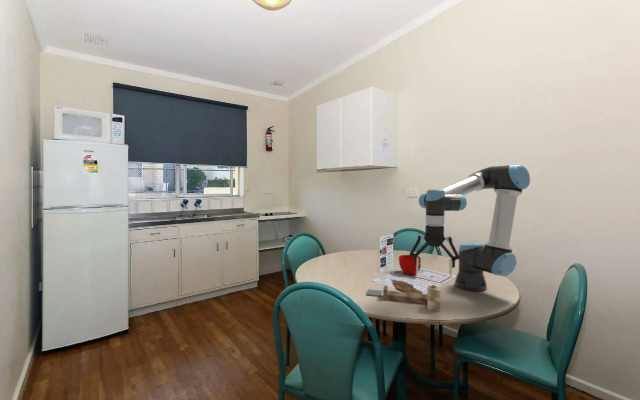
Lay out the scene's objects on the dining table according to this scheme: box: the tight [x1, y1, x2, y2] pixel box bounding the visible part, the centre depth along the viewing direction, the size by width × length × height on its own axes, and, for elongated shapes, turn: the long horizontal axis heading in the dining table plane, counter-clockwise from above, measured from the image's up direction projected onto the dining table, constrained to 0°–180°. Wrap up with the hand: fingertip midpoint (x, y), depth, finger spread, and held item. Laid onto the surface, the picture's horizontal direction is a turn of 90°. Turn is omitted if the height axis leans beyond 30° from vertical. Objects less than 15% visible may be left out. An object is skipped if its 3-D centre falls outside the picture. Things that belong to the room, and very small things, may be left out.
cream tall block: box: [426, 284, 442, 312], centre depth 127 cm, size 5×5×10 cm
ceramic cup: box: [398, 254, 422, 276], centre depth 176 cm, size 13×17×10 cm
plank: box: [382, 285, 427, 305], centre depth 136 cm, size 24×6×5 cm, turn 73°
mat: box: [365, 288, 383, 298], centre depth 144 cm, size 7×7×1 cm
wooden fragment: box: [391, 278, 423, 294], centre depth 154 cm, size 26×11×1 cm, turn 10°
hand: (433, 273), depth 126 cm, fingers open, 13 cm apart
